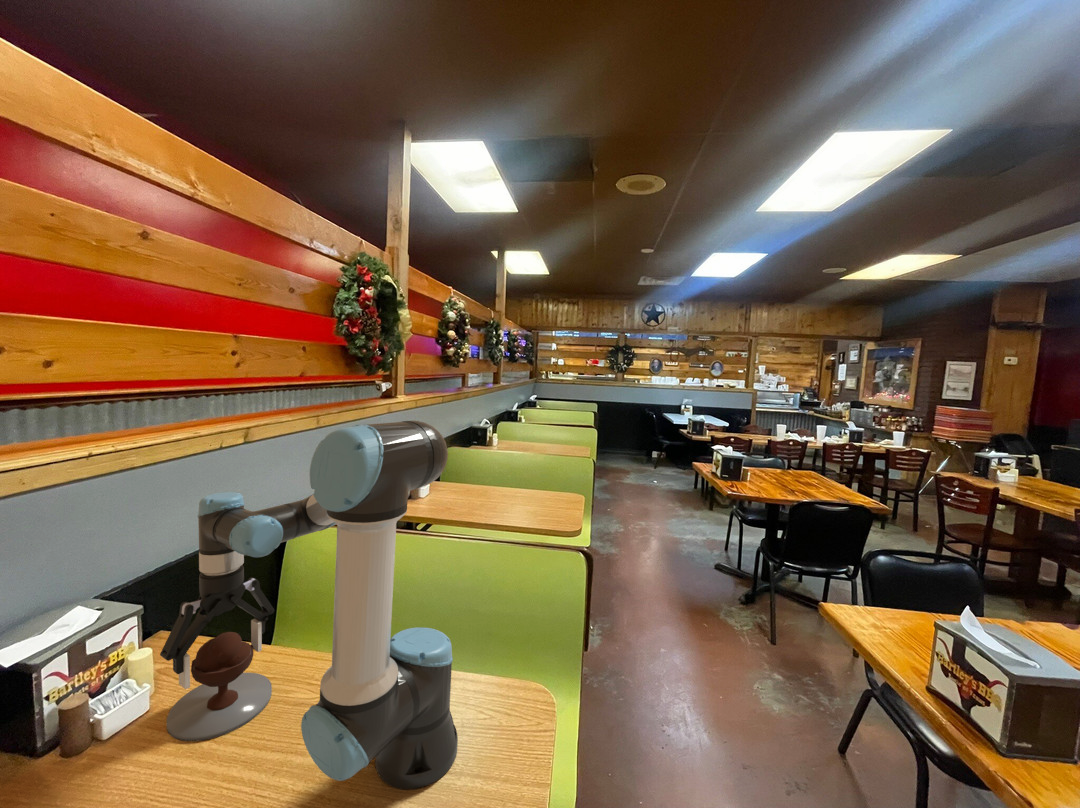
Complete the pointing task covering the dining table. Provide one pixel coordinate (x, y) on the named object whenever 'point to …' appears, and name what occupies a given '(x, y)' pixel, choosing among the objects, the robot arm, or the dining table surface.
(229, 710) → the grey smooth oval disc
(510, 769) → the dining table surface
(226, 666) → the ice cream bowl
